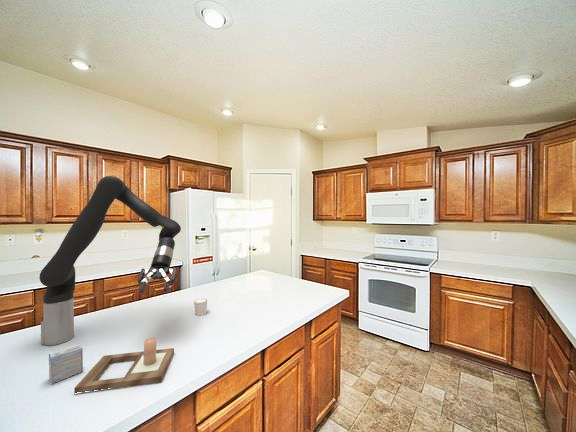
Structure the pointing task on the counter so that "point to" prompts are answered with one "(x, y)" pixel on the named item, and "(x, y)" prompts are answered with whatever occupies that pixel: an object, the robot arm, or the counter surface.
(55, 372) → the medicine box
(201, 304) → the white candle
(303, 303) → the counter surface
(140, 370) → the hole board
